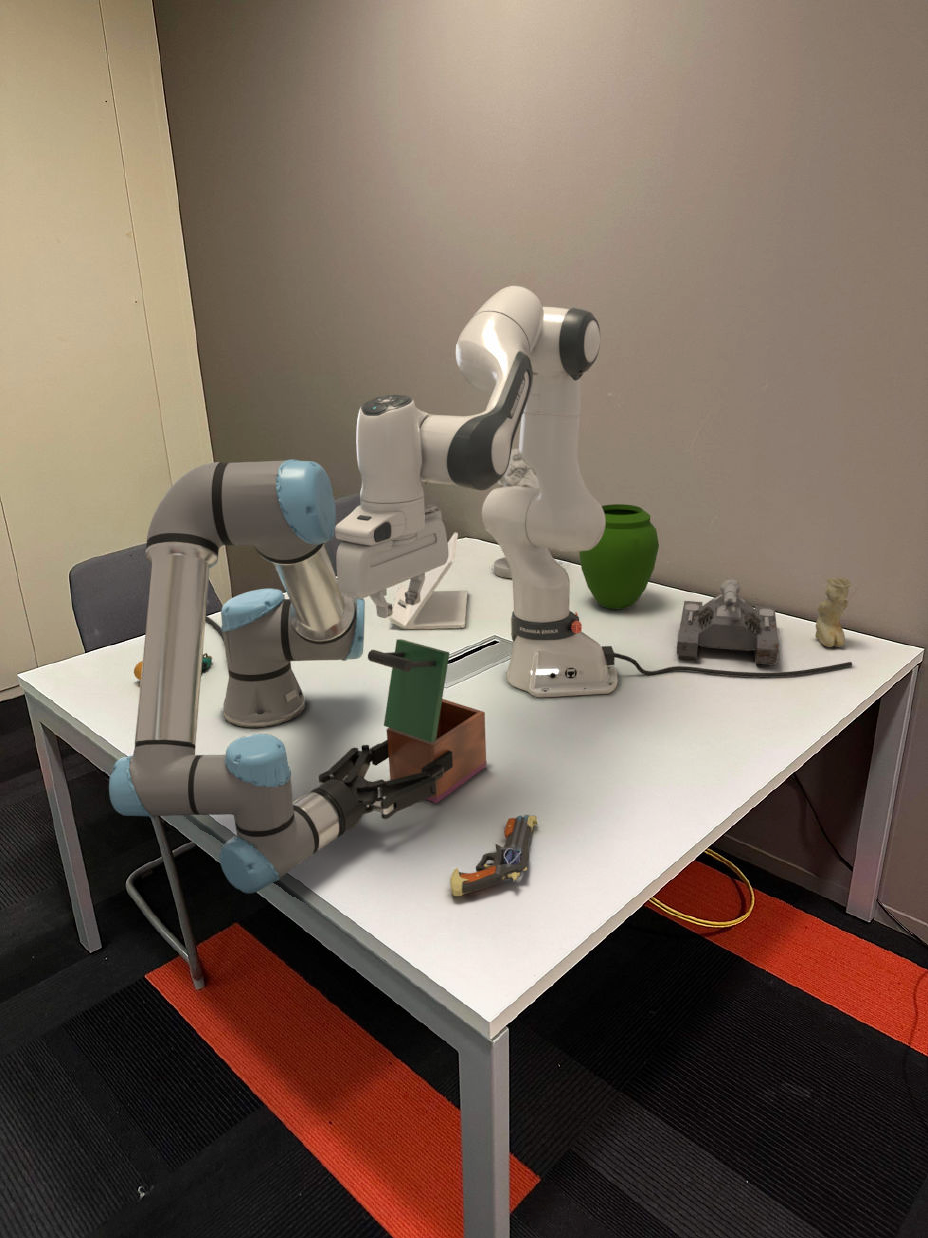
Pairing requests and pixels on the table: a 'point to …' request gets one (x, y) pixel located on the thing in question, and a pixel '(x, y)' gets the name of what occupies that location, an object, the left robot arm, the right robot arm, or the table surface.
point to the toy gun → (499, 859)
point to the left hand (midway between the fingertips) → (425, 749)
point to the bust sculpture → (514, 476)
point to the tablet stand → (432, 601)
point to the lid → (414, 687)
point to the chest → (442, 748)
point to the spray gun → (205, 664)
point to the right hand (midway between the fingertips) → (399, 609)
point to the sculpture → (832, 613)
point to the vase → (621, 557)
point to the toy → (728, 626)
